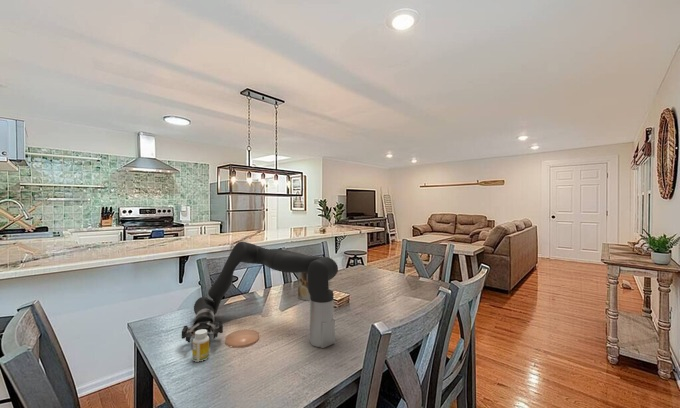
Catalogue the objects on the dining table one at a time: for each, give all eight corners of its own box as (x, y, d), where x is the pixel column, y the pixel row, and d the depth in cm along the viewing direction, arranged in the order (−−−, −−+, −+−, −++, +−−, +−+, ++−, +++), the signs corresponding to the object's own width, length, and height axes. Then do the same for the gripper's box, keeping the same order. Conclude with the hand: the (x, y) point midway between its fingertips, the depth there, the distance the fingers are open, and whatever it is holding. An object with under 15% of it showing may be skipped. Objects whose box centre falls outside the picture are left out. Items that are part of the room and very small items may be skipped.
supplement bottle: (189, 362, 103) (189, 335, 103) (195, 354, 109) (195, 328, 108) (206, 362, 104) (206, 334, 104) (211, 354, 109) (211, 328, 109)
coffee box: (317, 298, 170) (317, 270, 170) (311, 301, 164) (311, 272, 164) (303, 295, 174) (304, 268, 174) (297, 298, 169) (297, 270, 168)
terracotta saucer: (265, 340, 120) (265, 337, 120) (232, 351, 111) (232, 348, 111) (250, 329, 130) (250, 326, 130) (220, 338, 121) (220, 335, 121)
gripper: (185, 314, 121) (179, 330, 106) (222, 309, 127) (222, 324, 112) (185, 332, 122) (179, 351, 107) (222, 327, 127) (222, 344, 112)
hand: (201, 337), depth 109 cm, fingers open, 8 cm apart
